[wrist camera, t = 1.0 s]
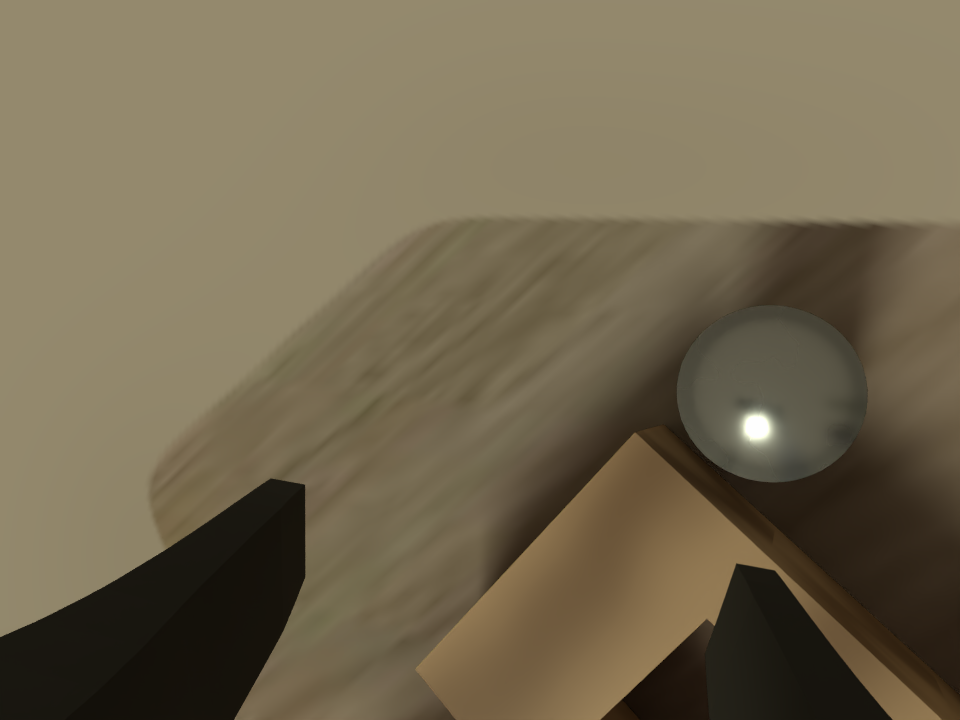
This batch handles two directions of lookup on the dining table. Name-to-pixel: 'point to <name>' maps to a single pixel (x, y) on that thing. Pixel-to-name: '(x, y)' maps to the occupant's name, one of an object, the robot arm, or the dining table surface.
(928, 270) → the dining table surface
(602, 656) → the hole plate
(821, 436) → the long pin
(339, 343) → the dining table surface
